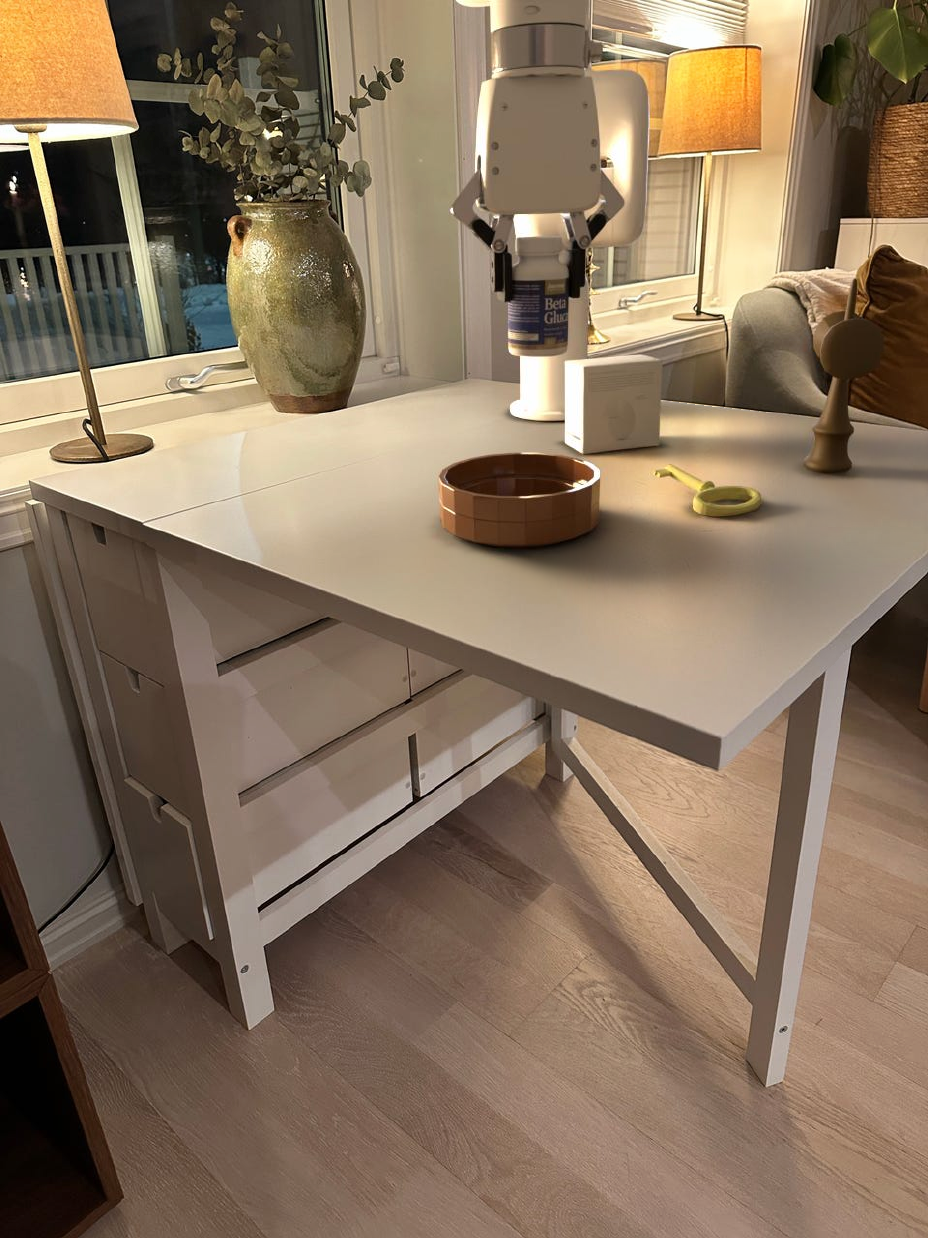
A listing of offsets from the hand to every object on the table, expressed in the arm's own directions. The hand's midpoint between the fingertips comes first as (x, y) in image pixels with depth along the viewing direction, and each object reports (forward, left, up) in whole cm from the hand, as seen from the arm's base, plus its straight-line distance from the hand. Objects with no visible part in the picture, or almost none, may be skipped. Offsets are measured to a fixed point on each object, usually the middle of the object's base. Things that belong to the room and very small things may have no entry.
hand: (538, 296), depth 79 cm
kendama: (-7, +35, -21) cm, 41 cm away
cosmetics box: (-25, +16, -21) cm, 36 cm away
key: (-1, +18, -21) cm, 27 cm away
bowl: (+1, -2, -21) cm, 21 cm away
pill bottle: (0, 0, -5) cm, 5 cm away
